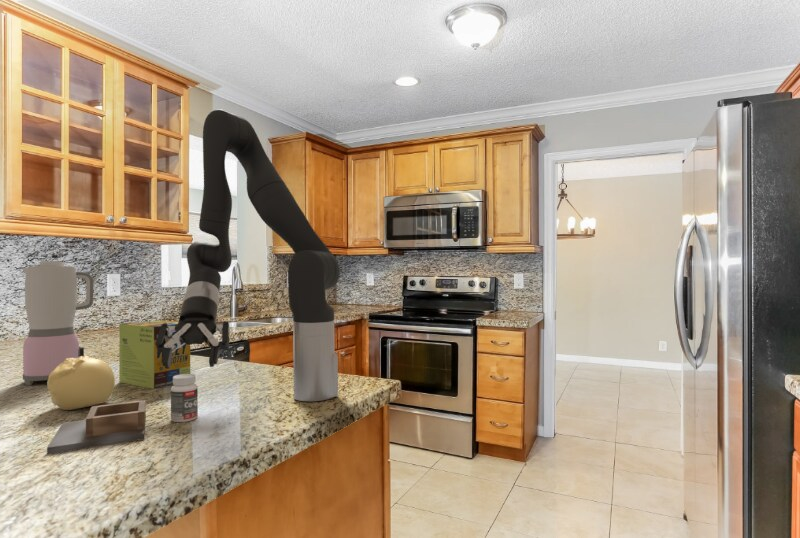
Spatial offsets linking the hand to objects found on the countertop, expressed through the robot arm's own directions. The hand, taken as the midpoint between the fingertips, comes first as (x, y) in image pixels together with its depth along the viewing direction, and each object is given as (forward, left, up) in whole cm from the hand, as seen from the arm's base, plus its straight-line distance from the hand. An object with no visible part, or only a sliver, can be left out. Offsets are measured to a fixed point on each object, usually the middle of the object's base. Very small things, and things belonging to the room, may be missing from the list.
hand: (189, 365), depth 95 cm
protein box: (+6, -34, -10) cm, 36 cm away
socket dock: (+15, +7, -9) cm, 19 cm away
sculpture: (+20, -16, -10) cm, 28 cm away
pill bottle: (+1, +5, -10) cm, 11 cm away
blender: (+29, -51, -10) cm, 59 cm away
